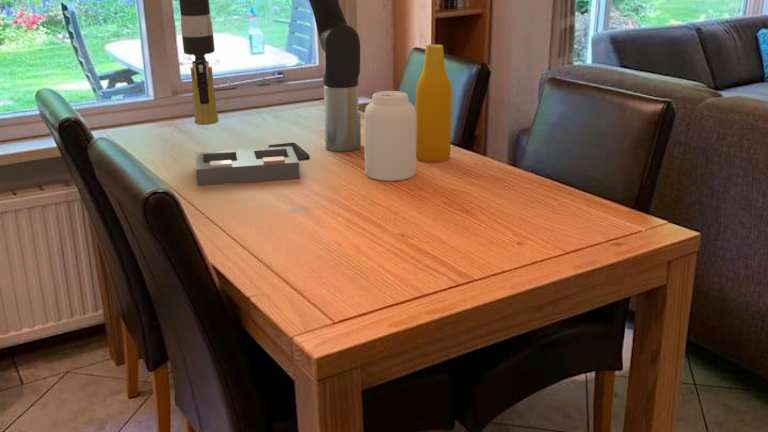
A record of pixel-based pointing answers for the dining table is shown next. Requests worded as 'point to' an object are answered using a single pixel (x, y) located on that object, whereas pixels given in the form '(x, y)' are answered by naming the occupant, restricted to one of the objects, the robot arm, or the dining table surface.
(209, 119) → the vase
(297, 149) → the phone
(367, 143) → the white jar
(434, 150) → the beer bottle
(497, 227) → the dining table surface
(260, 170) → the socket block
